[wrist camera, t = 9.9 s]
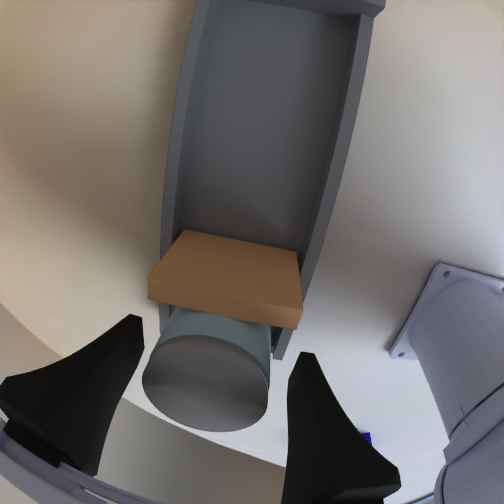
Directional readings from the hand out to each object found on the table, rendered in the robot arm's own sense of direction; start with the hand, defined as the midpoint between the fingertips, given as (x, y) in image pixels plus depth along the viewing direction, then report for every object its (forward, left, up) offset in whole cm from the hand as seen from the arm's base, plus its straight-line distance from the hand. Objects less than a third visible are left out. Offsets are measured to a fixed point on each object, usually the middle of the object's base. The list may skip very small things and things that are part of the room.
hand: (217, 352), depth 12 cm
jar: (0, +1, -4) cm, 4 cm away
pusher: (0, -3, -5) cm, 6 cm away
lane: (0, -6, -6) cm, 8 cm away
